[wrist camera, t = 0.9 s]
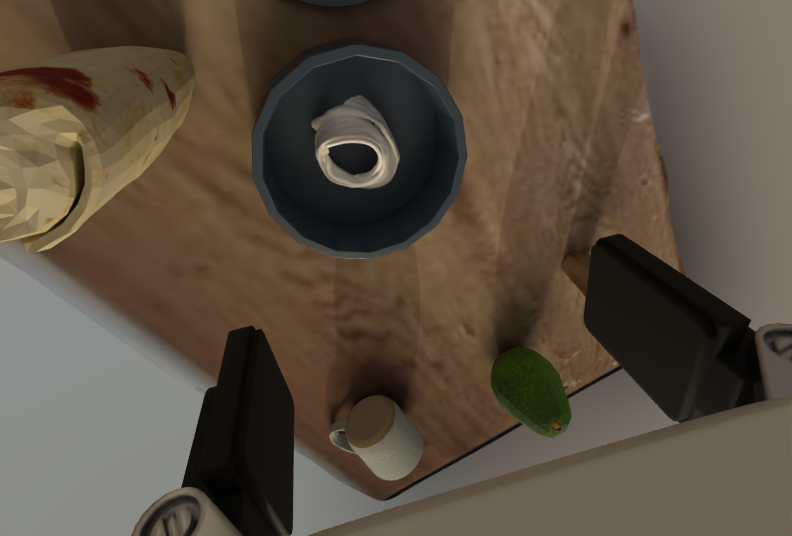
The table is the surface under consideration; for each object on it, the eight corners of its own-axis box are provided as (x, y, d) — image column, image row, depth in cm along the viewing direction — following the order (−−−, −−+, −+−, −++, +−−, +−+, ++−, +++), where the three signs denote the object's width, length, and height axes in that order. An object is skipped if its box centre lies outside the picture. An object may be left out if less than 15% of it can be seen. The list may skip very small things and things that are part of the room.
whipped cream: (407, 154, 37) (428, 171, 34) (351, 202, 38) (365, 224, 34) (353, 78, 33) (370, 88, 29) (290, 134, 33) (298, 151, 29)
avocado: (544, 332, 53) (602, 406, 43) (524, 377, 57) (574, 454, 47) (488, 332, 51) (536, 411, 41) (471, 379, 55) (511, 460, 45)
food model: (166, 13, 28) (-10, 17, 12) (227, 105, 32) (160, 210, 15) (45, 80, 29) (-291, 177, 12) (119, 164, 32) (-61, 325, 16)
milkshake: (553, 287, 49) (606, 343, 41) (558, 248, 46) (616, 300, 38) (587, 280, 50) (647, 334, 41) (595, 241, 47) (660, 291, 39)
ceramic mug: (387, 380, 51) (400, 433, 45) (416, 413, 56) (431, 466, 49) (315, 418, 52) (317, 475, 46) (348, 447, 57) (355, 503, 51)
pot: (258, 223, 37) (253, 255, 32) (257, 22, 30) (250, 24, 25) (423, 232, 41) (441, 262, 37) (461, 58, 34) (490, 66, 29)
